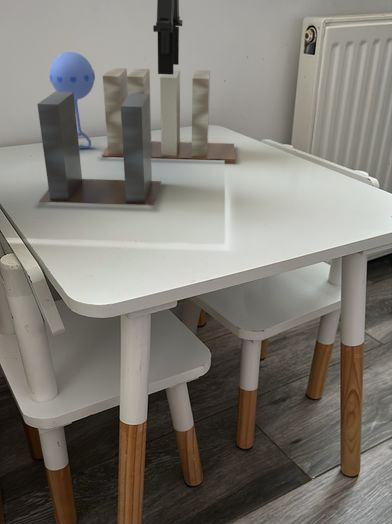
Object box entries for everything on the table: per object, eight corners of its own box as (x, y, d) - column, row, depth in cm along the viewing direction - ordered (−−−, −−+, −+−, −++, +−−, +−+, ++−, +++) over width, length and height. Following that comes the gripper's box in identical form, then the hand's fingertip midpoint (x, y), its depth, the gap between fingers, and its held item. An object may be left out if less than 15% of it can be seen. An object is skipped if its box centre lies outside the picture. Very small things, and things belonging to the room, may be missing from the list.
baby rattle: (59, 155, 112) (46, 55, 102) (57, 144, 119) (46, 49, 109) (102, 153, 114) (94, 54, 103) (98, 143, 120) (91, 49, 110)
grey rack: (39, 207, 87) (24, 105, 79) (58, 183, 97) (47, 90, 89) (154, 211, 87) (151, 108, 78) (161, 186, 97) (159, 93, 88)
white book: (161, 155, 110) (160, 77, 102) (165, 142, 118) (164, 69, 110) (176, 156, 109) (176, 77, 102) (180, 143, 118) (180, 69, 110)
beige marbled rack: (102, 160, 110) (96, 76, 101) (112, 144, 119) (107, 67, 111) (234, 164, 109) (239, 80, 100) (233, 148, 119) (237, 70, 110)
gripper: (187, -78, 83) (184, 79, 95) (194, -66, 104) (191, 61, 116) (136, -79, 83) (140, 77, 95) (154, -68, 104) (155, 60, 116)
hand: (168, 69), depth 105 cm, fingers open, 13 cm apart
